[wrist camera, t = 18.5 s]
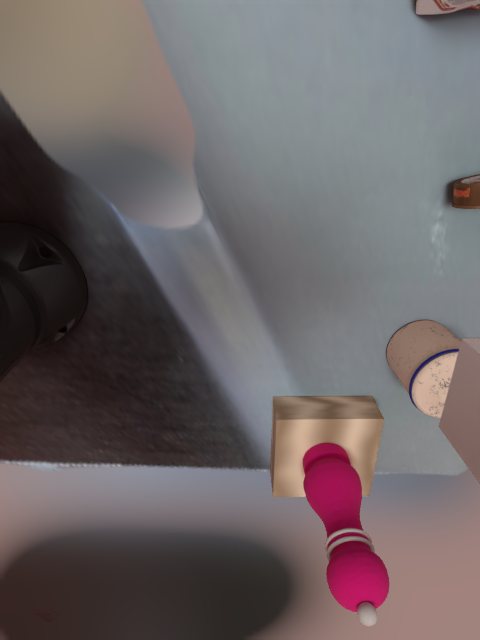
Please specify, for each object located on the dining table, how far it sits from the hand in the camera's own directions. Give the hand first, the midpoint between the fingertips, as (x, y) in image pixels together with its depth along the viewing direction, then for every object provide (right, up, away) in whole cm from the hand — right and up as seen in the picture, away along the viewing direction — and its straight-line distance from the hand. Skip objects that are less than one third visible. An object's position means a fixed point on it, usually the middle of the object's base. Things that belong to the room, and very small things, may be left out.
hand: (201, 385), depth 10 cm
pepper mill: (+13, -17, +43) cm, 48 cm away
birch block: (+13, -15, +48) cm, 52 cm away
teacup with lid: (+26, -2, +42) cm, 49 cm away
